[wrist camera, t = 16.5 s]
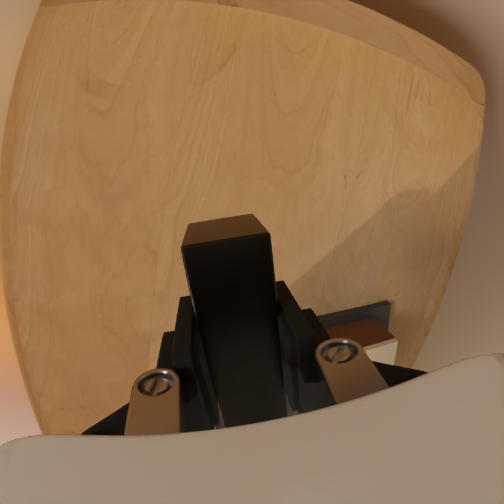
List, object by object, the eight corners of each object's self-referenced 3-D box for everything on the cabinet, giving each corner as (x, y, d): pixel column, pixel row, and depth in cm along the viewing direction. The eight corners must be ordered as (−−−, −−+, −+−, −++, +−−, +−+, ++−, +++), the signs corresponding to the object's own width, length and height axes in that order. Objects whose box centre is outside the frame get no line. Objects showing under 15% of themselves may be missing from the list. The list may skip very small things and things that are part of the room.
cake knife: (187, 223, 11) (175, 260, 7) (253, 212, 11) (280, 243, 7) (250, 489, 16) (260, 540, 12) (285, 482, 17) (299, 532, 12)
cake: (192, 337, 28) (190, 375, 22) (387, 300, 30) (417, 326, 25) (219, 435, 32) (222, 472, 27) (373, 400, 35) (392, 429, 29)
